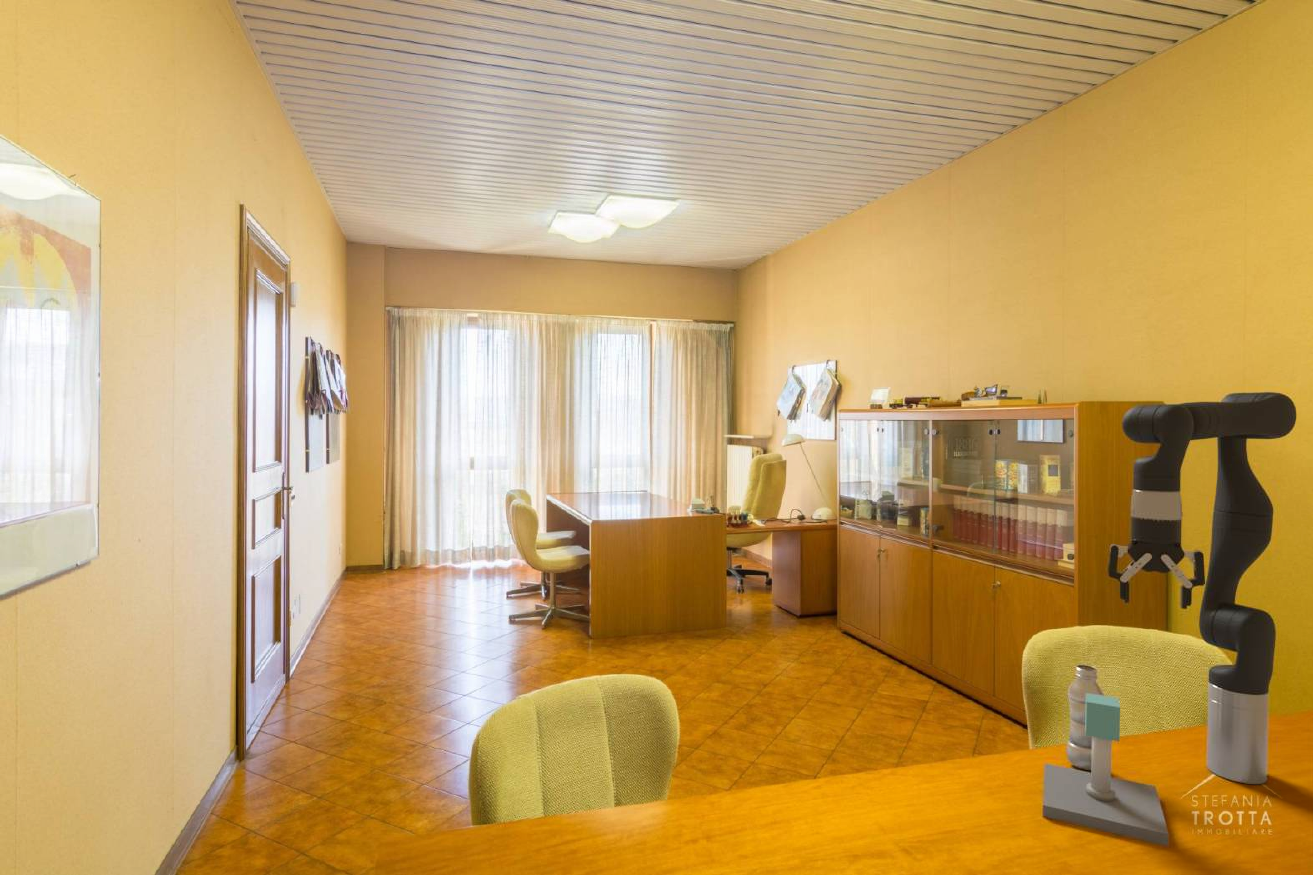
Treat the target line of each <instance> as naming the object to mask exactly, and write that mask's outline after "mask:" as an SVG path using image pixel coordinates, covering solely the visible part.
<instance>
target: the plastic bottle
mask: <svg viewBox="0 0 1313 875" xmlns="http://www.w3.org/2000/svg"><path fill="white" fill-rule="evenodd" d="M1075 677H1076V678H1075V680H1073V681H1072V682H1071V683H1070V685H1069V687H1068V688H1067V697H1068V699H1067V700H1068V705H1069V717H1070V719H1069V721H1070V726H1069V733H1068V739H1067V742H1066V748H1065V752H1066V758H1067V760H1068V762H1069V764H1071V765H1073V766H1074V767H1076V768H1078V769H1081V770H1083V771H1084V770H1085V771H1091V761H1092V736H1086V729H1085V705H1086V693H1090V694H1096V695H1102V696H1105V693H1104V691H1103V689H1102V688H1101V686H1100V685H1099V683H1098V682H1097V681H1096V680H1098V669H1097V668H1096V667H1094V666H1092V665H1087V664H1076V666H1075Z"/></svg>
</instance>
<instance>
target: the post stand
mask: <svg viewBox="0 0 1313 875" xmlns="http://www.w3.org/2000/svg"><path fill="white" fill-rule="evenodd" d="M1112 742H1113V740H1108V739H1102V738H1097V737H1092V761H1091V770H1090V771H1091V772H1089V771H1086V770H1085V771H1084V770H1079V769H1075V768H1071V767H1070V768H1069V767H1065V766H1060V765H1056V764H1055V765H1054V764H1052V763H1051V764H1050V763H1045V762H1044V769H1043V770H1044V771H1043V789H1042V790H1043V792H1042V795H1043V796H1042V817H1043V818H1047V817H1048V818H1049V819H1052V820H1057V821H1060V822H1064V823H1068V824H1069V823H1070V824H1072V825H1076V826H1077V825H1078V826H1082V827H1086V828H1090V829H1094V830H1097V831H1103V832H1106V833H1110V834H1115V835H1119V836H1123V837H1127V838H1132V839H1136V840H1141V841H1143V842H1144V841H1145V842H1148V843H1152V844H1156V845H1160V846H1161V845H1162V846H1163V847H1169V835H1170V834H1169V831H1168V827H1167V823H1166V820H1165V815H1164V812H1163V809H1162V805H1161V801H1160V798H1159V794H1158V791H1157V786H1156V785H1152V784H1147V783H1143V782H1136V781H1133V780H1132V781H1131V780H1128V779H1123V778H1118V777H1114V776H1113V777H1112V744H1113V743H1112Z"/></svg>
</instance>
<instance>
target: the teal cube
mask: <svg viewBox="0 0 1313 875" xmlns="http://www.w3.org/2000/svg"><path fill="white" fill-rule="evenodd" d="M1085 729H1086V736H1092V737H1097V738H1102V739H1108V740H1112V742H1120V736H1121V735H1120V732H1121V730H1120V729H1121V706H1120V701H1119V698H1118V697H1113V696H1107V695H1104V696H1102V695H1096V694H1090V693H1086V705H1085Z"/></svg>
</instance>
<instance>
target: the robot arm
mask: <svg viewBox="0 0 1313 875" xmlns="http://www.w3.org/2000/svg"><path fill="white" fill-rule="evenodd" d="M1296 421H1297V409H1296V405H1295V403H1294V401H1293V399H1292V398H1290V397H1289V396H1288V395H1286V394H1283V393H1281V392H1273V391H1271V392H1270V391H1264V392H1233V393H1228V394H1227V395H1225V396H1224V397H1223V398H1222V400H1221V401H1195V402H1182V403H1174V404H1173V403H1172V404H1171V403H1170V404H1169V403H1168V404H1165V403H1164V404H1138V405H1136V406H1134V407H1131V408H1130V409H1128V411H1127V412H1126V413H1125V414H1124V415H1123V418H1122V422H1121V428H1122V431H1123V433H1124V435H1125V436H1126V437H1127V438H1128V439H1129V440H1131V441H1132V442H1135V443H1138V444H1158V445H1159V447H1158V448H1157V451H1156V453H1155V454H1154V455H1150V456H1144V457H1139V458H1137V459H1135V460H1134V462H1133V466H1132V467H1133V469H1132V472H1133V474H1132V475H1133V476H1132V480H1133V481H1132V495H1131V500H1130V501H1131V502H1130V543H1129V544H1128V545H1127V546H1124V545H1119V544H1118V545H1117V544H1116V543H1111V544H1110V545H1109V556H1108V566H1107V567H1108V568H1107V574H1108V577H1109V578H1111V579H1115V580H1118V581H1119V598H1120V600H1123V603H1124V604H1130V582H1129V580H1130V579H1131V578H1132V577H1133V576H1134V575H1136V574H1137V573H1138V572H1139V571H1140V570H1142V571H1144V572H1147V573H1149V572H1150V573H1152V572H1157V573H1161V574H1167V573H1170V572H1171V573H1172V574H1173V575H1174V576H1175V577H1176V579H1177V580H1178V581H1179V582H1180V583H1181V584H1182V585H1180V603H1179V604H1180V608H1181V609H1183V610H1187V608H1188V607H1191V606H1192V598H1193V596H1192V595H1193V594H1192V593H1193V592H1192V590H1193V588H1195V587H1199V586H1200V587H1203V586H1204V590H1203V595H1202V600H1201V603H1200V604H1201V606H1200V611H1199V618H1198V619H1199V620H1198V628H1199V633H1200V636H1201V638H1202V640H1203V641H1204V642H1205V643H1207V644H1208V645H1211V646H1213V647H1217V648H1219V649H1223V650H1227V651H1231V652H1234V653H1236V659H1235V662H1234V664H1218V665H1212V667H1210V668H1209V669H1208V679H1207V680H1208V687H1207V688H1208V689H1207V692H1208V693H1207V697H1208V698H1207V741H1206V767H1207V768H1206V769H1208V770H1209V771H1210V772H1211V773H1212V774H1213V773H1214V774H1215V775H1217V776H1219V777H1221V778H1224V779H1227V780H1229V781H1230V780H1231V781H1233V782H1238V783H1240V784H1241V783H1243V784H1247V785H1261V784H1266V782H1267V781H1268V780H1267V775H1268V772H1267V770H1268V745H1269V744H1268V741H1269V740H1268V738H1269V690H1270V687H1269V686H1270V683H1271V680H1272V677H1273V673H1274V659H1275V651H1276V650H1275V649H1276V636H1277V635H1276V634H1277V631H1276V624H1275V621H1274V619H1273V617H1272V616H1271V614H1270V613H1269V612H1267V611H1265V610H1263V609H1259V608H1256V607H1252V606H1246V605H1242V604H1238V603H1236V595H1237V591H1238V588H1239V587H1238V586H1239V584H1240V580H1241V579H1242V577H1243V575H1244V574H1245V572H1247V571H1248V569H1249V568H1250V567H1251V566H1252V565H1253V564H1254V563H1255V562H1256V561H1257V559H1259V557H1261V555H1262V554H1263V553H1264V552H1265V551H1266V549H1267V548H1268V546H1269V544H1270V543H1271V540H1272V534H1273V523H1274V521H1273V520H1274V507H1273V506H1274V505H1273V503H1272V501H1271V499H1270V496H1269V495H1268V493H1267V492H1266V490H1265V489H1264V487H1263V485H1262V484H1261V482H1260V481H1259V480H1258V478H1257V477H1256V474H1254V472H1253V470H1252V467H1251V464H1250V462H1249V460H1248V452H1247V451H1248V450H1247V441H1248V440H1249V439H1250V440H1251V439H1252V440H1275V439H1280V438H1283V437H1285V436H1287V435H1289V434H1290V433H1291V432H1292V431H1293V429H1294V427H1295V425H1296ZM1215 438H1217V441H1216V443H1217V444H1216V445H1217V475H1216V487H1215V498H1214V503H1213V513H1212V523H1211V540H1210V541H1211V543H1210V553H1209V554H1210V555H1209V562H1208V570H1207V575H1206V574H1205V559H1204V558H1205V557H1204V556H1205V555H1204V553H1203V552H1202V551H1201V550H1200V549H1194V550H1183V548H1182V526H1183V525H1182V521H1183V520H1182V519H1183V518H1182V517H1183V507H1182V506H1183V504H1182V503H1183V502H1182V496H1181V477H1182V476H1181V473H1182V472H1181V470H1182V465H1183V462H1184V461H1185V456H1186V454H1187V450H1188V448H1189V444H1190V443H1191V441H1197V440H1198V441H1199V440H1200V441H1201V440H1208V439H1215ZM1126 553H1127V554H1128V555H1129V557H1130V558H1131V559H1132V561H1131V562H1130V563H1128V565H1127V566H1126V568H1125V569H1124V570H1123V571H1122V572H1120V571H1118V562H1119V561H1118V560H1119V558H1122V557H1123V556H1124V554H1126ZM1185 557H1186V558H1187V559H1188V561H1189V563H1191V564H1193V577H1190V578H1188V577H1187V576H1186V575H1185V573H1184V572H1183V571H1182V570H1181V569H1180V568H1179V566H1177V565H1178V564H1179V563H1180V562H1182V561H1183V559H1184V558H1185Z"/></svg>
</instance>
